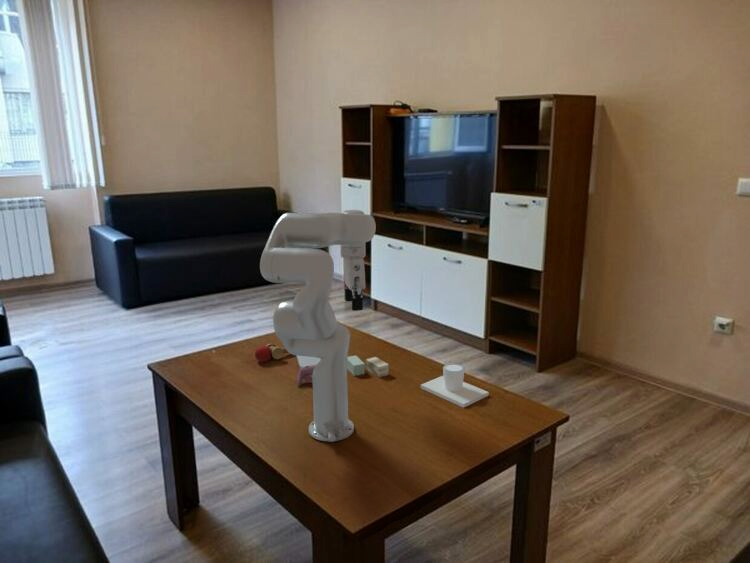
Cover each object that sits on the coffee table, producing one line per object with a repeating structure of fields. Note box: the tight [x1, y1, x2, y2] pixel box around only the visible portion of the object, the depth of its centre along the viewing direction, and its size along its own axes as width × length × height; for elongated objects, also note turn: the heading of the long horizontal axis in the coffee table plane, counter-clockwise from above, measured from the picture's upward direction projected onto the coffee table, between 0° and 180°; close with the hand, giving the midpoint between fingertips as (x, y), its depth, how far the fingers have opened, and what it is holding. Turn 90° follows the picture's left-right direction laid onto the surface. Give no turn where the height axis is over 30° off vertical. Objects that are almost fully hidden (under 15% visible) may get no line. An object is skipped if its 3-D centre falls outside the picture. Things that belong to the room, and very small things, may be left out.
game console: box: [295, 355, 321, 370], centre depth 211 cm, size 18×2×8 cm
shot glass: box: [442, 363, 466, 392], centre depth 186 cm, size 7×7×7 cm
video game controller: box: [296, 365, 315, 387], centre depth 194 cm, size 10×5×7 cm, turn 87°
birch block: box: [365, 356, 390, 378], centre depth 202 cm, size 8×4×4 cm, turn 34°
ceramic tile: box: [420, 375, 490, 409], centre depth 187 cm, size 18×12×1 cm, turn 41°
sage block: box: [347, 355, 366, 377], centre depth 203 cm, size 8×4×4 cm, turn 23°
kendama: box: [254, 343, 290, 363], centre depth 215 cm, size 8×6×18 cm
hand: (354, 305), depth 182 cm, fingers open, 9 cm apart
